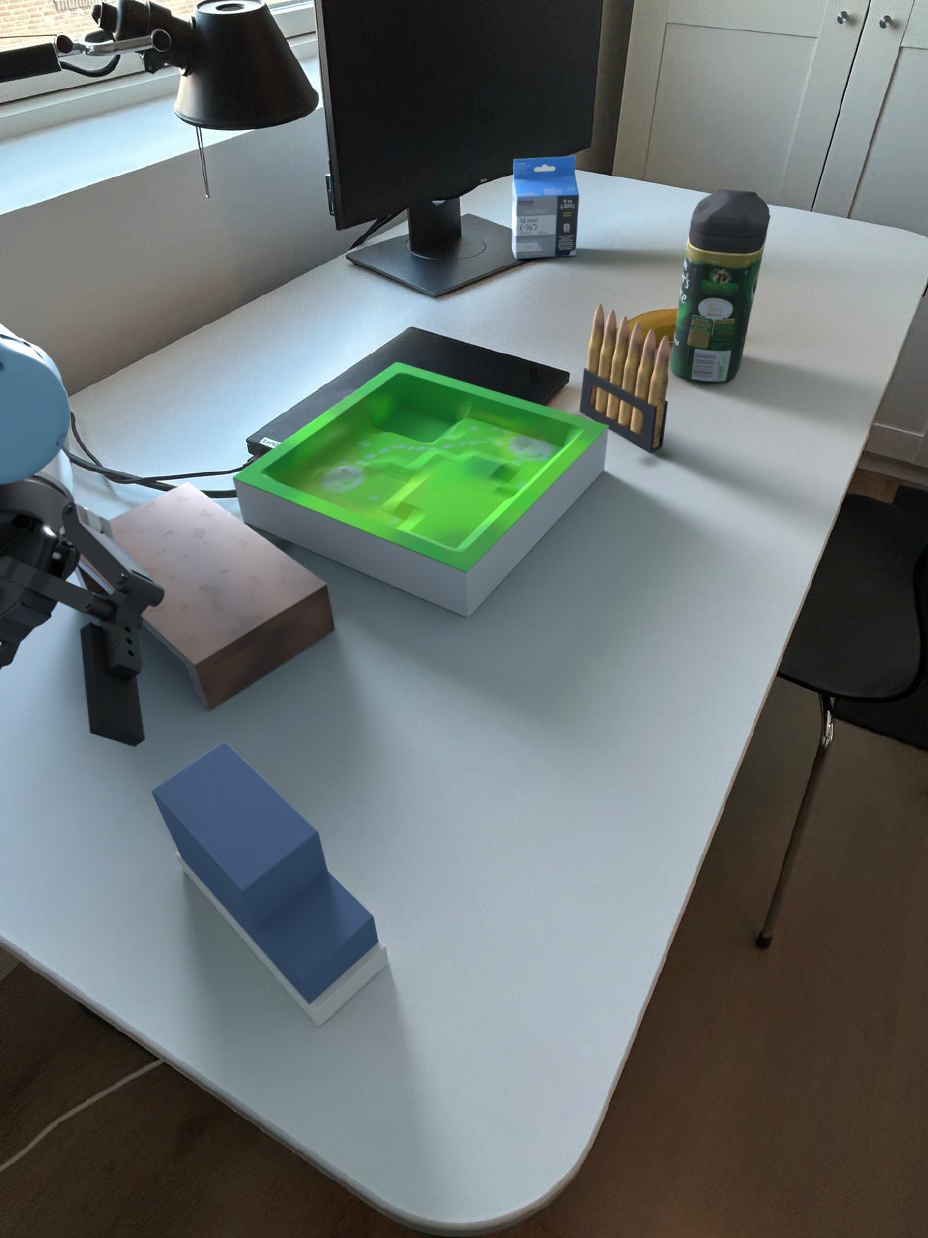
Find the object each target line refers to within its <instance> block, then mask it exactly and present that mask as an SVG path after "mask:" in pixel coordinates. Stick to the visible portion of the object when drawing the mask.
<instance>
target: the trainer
mask: <svg viewBox="0 0 928 1238" xmlns="http://www.w3.org/2000/svg"><path fill="white" fill-rule="evenodd" d="M150 793H151V796H152V797H153V799H154V801H155V803H156V806H157V808H158V810H159V812H160V814H161V817H162V819H163V821H164V823H165V825H166V827H167V830H168V832H169V834H170V836H171V839H172V841H173V843H174V845H175V847H176V850H177V851H176V852H175V856H176V858H177V860H178V863H179V865H180V867H181V869H182V870H183V872H184V874H186V875H187V876H188V878H189V879H190V880H191V881H192V882H193V883H194V885H195V886H196V887H197V888H198V889H199V891H200V892H201V893H202V894H203V895H204V897H206V898H207V900H208V901H209V903H211V904H212V905H213V907H214V908H215V909H216V910H217V911H218V913H219V914H220V915H221V916H222V917H223V918H224V919H225V921H226V922H227V923H228V924H229V925H230V927H232V928H233V930H234V931H235V932H236V933H237V935H239V937H240V938H241V939H242V940H243V942H244V943H245V944H246V945H247V946H248V947H249V948H250V950H251V951H252V952H253V953H254V954H255V956H257V958H258V959H259V960H260V961H261V962H262V964H263V965H264V966H265V967H266V968H267V970H269V972H270V973H271V974H272V975H273V976H274V977H275V978H276V980H277V981H278V982H279V984H280V985H281V986H282V987H283V988H284V989H285V990H286V991H287V992H288V994H289V995H290V996H291V997H292V999H294V1001H295V1002H296V1003H297V1004H298V1005H299V1006H300V1008H301V1009H302V1010H303V1011H304V1012H305V1014H307V1016H308V1017H309V1018H310V1019H311V1020H312V1022H313V1023H314V1024H315V1025H316V1026H317V1027H318V1028H320V1027H321V1026H322V1025H324V1023H326V1021H328V1019H330V1018H331V1017H332V1016H333V1015H334V1014H335V1013H336V1012H338V1010H339V1009H341V1008H342V1006H344V1005H345V1004H346V1003H347V1002H348V1001H349V1000H351V999H352V998H353V996H355V995H356V994H357V993H358V992H359V991H360V990H361V989H363V987H364V986H366V984H367V983H369V982H370V981H371V980H372V979H373V978H374V977H375V976H376V975H377V974H378V973H379V972H381V971H382V970H383V969H384V968H385V967H386V966H387V965H388V964H389V962H390V961H389V956H388V951H387V946H386V945H385V944H384V943H383V942H382V941H381V940H380V939H379V937H378V931H377V927H376V921H375V917H374V915H373V914H372V913H371V912H370V910H368V909H367V908H366V907H365V906H364V905H363V904H362V902H360V901H359V900H358V899H357V898H356V896H354V895H353V894H352V893H351V892H350V891H349V890H348V889H347V888H346V887H345V886H344V885H343V883H341V882H340V881H339V880H338V879H337V878H336V877H335V876H334V875H333V873H331V872H330V870H329V869H328V866H327V861H326V858H325V853H324V849H323V845H322V841H321V837H320V833H319V831H318V830H317V829H316V828H315V827H314V826H313V825H312V824H311V823H310V822H309V821H308V820H307V819H306V818H305V817H304V816H303V815H302V814H301V813H300V812H299V811H298V810H297V809H296V808H295V807H294V806H292V805H291V804H290V803H289V802H288V801H287V800H286V799H285V798H284V797H283V796H282V795H281V794H280V792H278V791H277V790H276V789H275V788H274V787H273V786H272V785H271V784H270V783H269V782H268V781H267V780H266V779H265V778H264V777H263V776H262V775H261V774H259V773H258V772H257V770H255V768H254V767H252V765H250V764H249V762H247V760H246V759H244V758H243V757H242V756H241V755H240V754H239V753H238V752H237V751H236V750H235V749H234V748H233V747H232V746H231V745H230V744H229V743H228V742H227V741H222V742H221V743H220V744H218V745H216V746H215V747H213V748H212V749H210V750H209V751H207V752H205V753H204V754H203V755H202V756H200V757H199V758H197V759H195V760H194V761H192V762H191V763H190V764H188V765H187V766H185V767H184V768H182V769H181V770H179V771H178V772H176V773H175V774H173V775H172V776H171V777H169V778H167V779H166V780H165V781H163V782H162V783H160V784H159V785H157V786H156V787H154V788H153V789H151V792H150Z"/></svg>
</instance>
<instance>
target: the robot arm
mask: <svg viewBox="0 0 928 1238" xmlns="http://www.w3.org/2000/svg"><path fill="white" fill-rule="evenodd" d="M71 411H72V410H71V405H70V399H69V396H68V392H67V390H66V387H65V386H64V384H63V381H62V376H61V373H60V371H59V369H58V367H57V365H56V363H55V362H54V361H53V359H52V357H50V356H49V354H47V352H45V351H44V350H43V349H42V348H40V347H39V346H37V345H35V344H32V343H30V342H28V341H26V340H24V339H23V338H20V337H18V336H17V335H15V334H14V333H13V332H12V331H10V330H9V329H8V328H7V327H5V326H4V325H3V324H1V323H0V671H1V669H2V668H4V667H8V666H9V665H11V664H12V663H13V661H14V659H15V657H16V655H17V652H18V650H19V647H20V645H21V642H23V641H24V640H25V639H27V637H28V636H29V635H30V634H31V632H33V630H34V629H36V628H38V627H40V626H42V625H44V624H46V622H48V621H49V620H50V619H51V618H52V613H53V612H54V610H55V609H56V607H57V605H58V603H60V604H62V605H64V606H67V607H69V608H70V609H73V610H75V611H78V612H80V613H81V614H83V615H86V616H87V617H90V618H93V619H94V620H97V621H98V623H99V625H98V624H96V623H94V622H91V621H88V622H87V623H86V624H85V625H83V626H82V627H81V628H80V629H79V634H80V643H81V644H80V645H81V654H82V664H83V665H82V666H83V677H84V687H85V696H86V708H87V719H88V729H89V734H91V735H95V736H97V737H101V738H104V739H108V740H111V741H115V742H116V743H120V744H123V745H128V746H130V747H134V748H135V747H137V746H139V745H140V744H141V743H143V742H144V741H146V735H145V727H144V721H143V713H142V707H141V706H142V705H141V698H140V691H139V684H138V678H137V676H138V675H140V674H141V673H142V668H143V656H142V649H141V641H140V635H139V631H140V629H141V628H142V626H143V625H142V623H143V617H142V613H143V612H144V611H145V609H146V608H147V607H148V606H151V607H156V606H158V605H159V604H160V603H161V602H162V600H163V598H164V595H165V590H164V589H163V587H162V586H161V585H160V584H159V583H158V582H157V581H156V580H154V579H153V578H152V577H151V576H150V575H149V574H148V573H147V572H146V571H145V570H144V569H143V568H142V567H141V566H140V565H139V564H138V563H137V562H136V561H135V560H134V559H133V558H132V557H131V556H130V555H129V554H128V553H127V552H126V551H125V550H124V549H123V548H122V547H121V546H120V545H119V544H118V543H117V542H116V541H115V540H114V538H113V534H112V530H111V527H110V523H109V519H107V518H105V517H103V516H101V515H99V514H97V513H95V512H94V511H92V510H90V509H88V508H87V507H85V506H82V505H81V504H79V503H78V502H76V495H75V485H74V476H73V465H72V463H73V461H72V458H71V453H70V437H69V431H70V426H71V420H72V416H71V415H72V413H71ZM81 554H82V555H83V556H84V557H85V558H86V559H87V560H88V561H89V562H90V563H91V565H92V566H93V567H94V568H95V569H96V570H97V571H98V572H99V573H100V574H101V575H102V576H103V577H104V578H105V579H106V581H107V582H108V583H109V584H110V585H111V586H112V587H113V588H114V589H115V591H114V592H113V593H112V595H110V596H109V597H108V598H107V597H104V596H103V595H100V594H98V593H94V592H91V591H88V590H86V589H84V588H82V587H81V586H80V585H76V584H74V583H72V582H69V581H67V579H69V578H70V577H71V576H72V574H73V573H75V569H76V568H77V566H78V563H79V561H80V556H81Z"/></svg>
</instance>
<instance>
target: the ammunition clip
mask: <svg viewBox="0 0 928 1238" xmlns="http://www.w3.org/2000/svg"><path fill="white" fill-rule="evenodd" d="M605 322H606V323H605ZM617 325H618V323H617V315H616V312H615V310H614V309H611V310H610V312H609V314H608V316H607V319H606V321H605V312H604V306H603V304H602V303H599V304H598V306H597V307H596V310H595V312H594V317H593V320H592V328H591V333H590V340H589V342H588V348H587V361H586V367H585V368H583V374H582V384H581V393H580V401H579V412H580V413H581V414H583V415H585V416H586V417H588V418H590V419H591V420H592V421H596V422H599V423H602V424H606V425H609V428H608V430H610V431H612V432H613V433H615V434H617V435H619V436H620V437H622V438H624V439H626V440H627V441H628V442H631V443H632V444H634V445H635V446H637V447H638V448H640V449H642V450H643V451H646V452H647V453H648V454H651V453H653V452H656V451H657V450H658V449H661V448H663V447H664V438H665V431H666V430H665V429H666V421H667V414H668V405H669V402H668V401H667V400H666V398H667V393H668V392H667V391H668V384H669V363H670V341H669V337H668V335H664V336H663V337H662V339H661V341H660V344H659V346H658V349H656V348H657V346H656V344H657V343H656V341H657V340H656V334H655V333H656V332H655V330H654V328H651V329H650V330H649V331H648V333H647V335H646V337H645V340H644V343H643V330H642V325H641V323H640V322H639V321H637V322H636V323H635V325H634V327H633V330H632V332H631V335H630V323H629V319H628V317H627V315H624V316H623V318H622V319H621V321H620V324H619V327H618V326H617ZM642 346H643V347H642ZM656 350H657V353H656Z"/></svg>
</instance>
